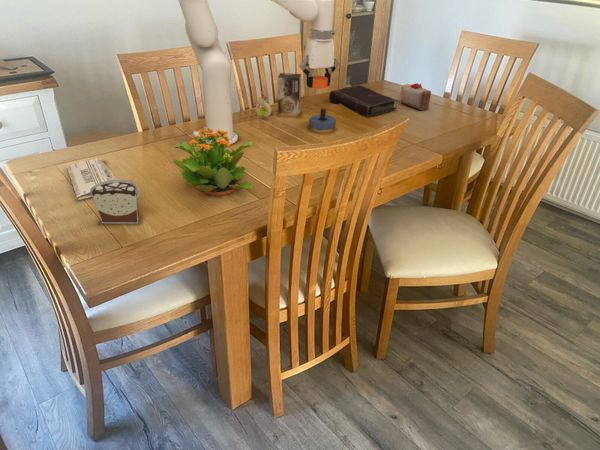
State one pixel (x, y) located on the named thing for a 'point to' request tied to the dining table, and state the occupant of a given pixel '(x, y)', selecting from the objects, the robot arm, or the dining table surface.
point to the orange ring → (320, 82)
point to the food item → (415, 96)
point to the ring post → (322, 116)
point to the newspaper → (88, 176)
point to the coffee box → (289, 93)
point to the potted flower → (213, 164)
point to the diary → (363, 100)
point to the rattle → (263, 103)
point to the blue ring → (322, 122)
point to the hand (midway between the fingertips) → (318, 85)
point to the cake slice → (116, 201)
